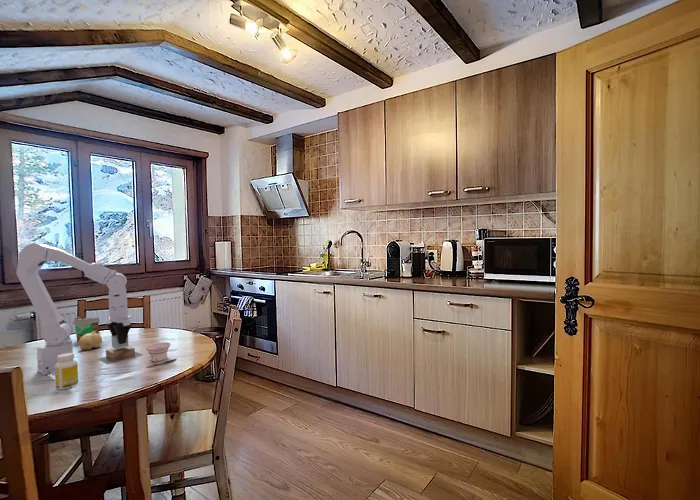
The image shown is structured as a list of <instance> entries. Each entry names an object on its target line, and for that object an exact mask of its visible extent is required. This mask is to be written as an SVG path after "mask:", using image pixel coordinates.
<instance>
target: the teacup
mask: <svg viewBox="0 0 700 500" xmlns="http://www.w3.org/2000/svg"><path fill="white" fill-rule="evenodd" d="M171 345H172V344H171V343H170V342H163V341H162V342H154V343H151V344H148V345H146V346H145V349H146V351H147V353H148V355H149V356H150V361H151V362H161V361H164V362H161V363H157V364H156V363H155V364H153V365H150V366H146V367H145V368H146V369H147V368H149V369H152V368H159V367H163V366H167V365H171V364H173V363H175V362H176V361H177V360H178V358H173V359H170V360H167V358H168V351H169V348H170V347H171ZM166 360H167V361H166Z"/></svg>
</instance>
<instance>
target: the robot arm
mask: <svg viewBox="0 0 700 500" xmlns="http://www.w3.org/2000/svg"><path fill="white" fill-rule="evenodd" d="M17 261H18V262H17V266H16V272H15V273H16V276H17V279H19V281H20V284H21V285H22V287H23V289H24V291H25V293H26V295H27V296H28V298H29V300H30V302H31V304H32V306H33V308H34V309H35V311H36V313H37V315H38V316H39V318H40V320H41V329H42V332H43V335H42V336H43V341H44V342H45V345H43V346H38V348H36V349H37V350H36V361H37V362H36V363H37V369H36V371H37V372H39V373H40V374H41V375H43V376H47V375H50V374H52V372H51V371H55V365H56V364H57V363H58V362H59V361H58V360H57V356H58V355H61V354H65V353H74V351H73V339H72V338H71V337H70V336H71V335H72V333H73V331H74V328H73V325H72V324H71V323H69V322H68V321H66V319H65V318H64V316H63V315H62V314H60V312H59V310H58V308H57V307H56V305H55V303H54V301H53V299H52V297H51V295H50V293H49V291H48V290H47V289H48V288H46V286H45V283H44V282H43V280H42V279H41V276H40V275H39V271H40V270H41V269H42V268H43V265H44V264H45V263H47V262H61V263H62V264H65V265H66V266H70V267H71V268H74V269H77V270H79V271H82V272H83V273H84V275H85V278H88V279H90V280H92V281H95V282H97V283H99V284H101V285H106V287H107V288H108V309H109V310H108V314H109V315H108V316H107V320H108V322H109V323H106V327H107V328H108V330H109V331H110V333H111V337H112V336H115V335H117V338H118V342H119V344H123V343H126V340H127V336H128V337H129V332H130V330H131V328H132V325H133V324H132V323H131V319H132V315H129V312H128V311H129V309H128V293H127V287H126V285H127V282H128V280H127V277H126V276H125V274H123V273H121V272H117V270H116V269H110V268H108V267H106V266H104V263H102V262H92V263H88V262H87V261H85V260H83V259H81V258H79V257H77V256H74V255H73V254H71V253H69V252H66V251H65V250H63V249H60V248H57V247H55V246H50V245H49V244H46V243H30V244H26V245H25V246H24V247H23V248H22V250H21V251H20V252H19V253H18V260H17Z"/></svg>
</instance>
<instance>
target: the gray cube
mask: <svg viewBox="0 0 700 500" xmlns="http://www.w3.org/2000/svg"><path fill="white" fill-rule="evenodd" d="M126 346H130V345H129V335H128V336H127V340H126V343H123V344H119V342H118V338H117V335H115V336H112V335H111V348H116V349H117V348H122V347H126Z"/></svg>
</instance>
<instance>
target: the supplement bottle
mask: <svg viewBox="0 0 700 500" xmlns="http://www.w3.org/2000/svg"><path fill="white" fill-rule="evenodd" d="M57 360H58V361H59V362H58V363H57V364H56V365H55V370H54V378H55V389H56V390H59V391H60V390H61V391H62V390H69V389H71V388H73V386H72V385H76V384H77V383H78V382H79V369H78V361H77V360H76V359H75V353H74V352H73V353H65V354H61V355H58V356H57Z"/></svg>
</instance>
